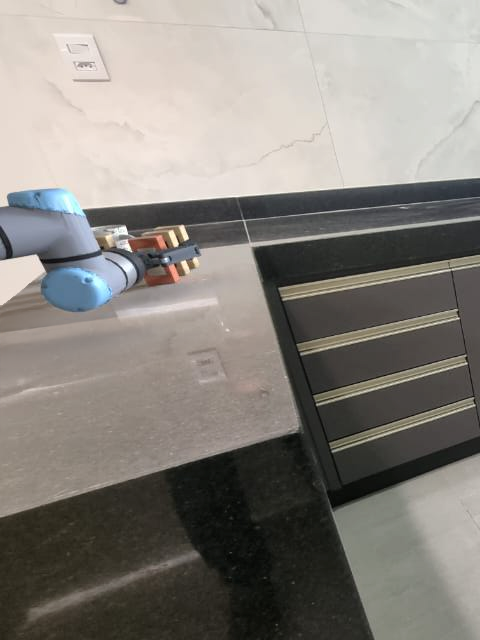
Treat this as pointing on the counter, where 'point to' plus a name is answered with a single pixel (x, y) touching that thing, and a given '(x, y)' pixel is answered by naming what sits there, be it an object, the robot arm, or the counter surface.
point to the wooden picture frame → (175, 245)
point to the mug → (115, 235)
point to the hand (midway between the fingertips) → (155, 248)
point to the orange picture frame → (160, 273)
